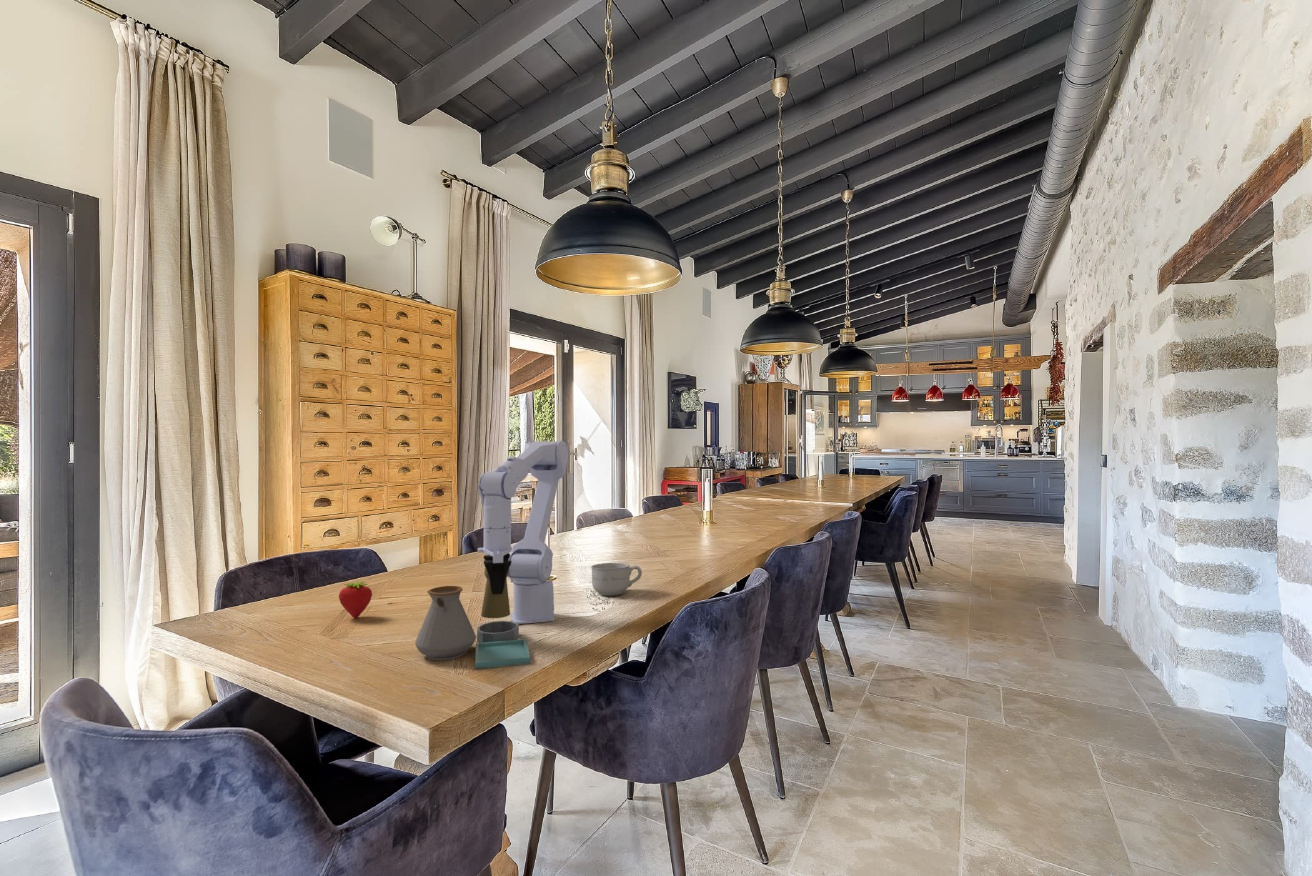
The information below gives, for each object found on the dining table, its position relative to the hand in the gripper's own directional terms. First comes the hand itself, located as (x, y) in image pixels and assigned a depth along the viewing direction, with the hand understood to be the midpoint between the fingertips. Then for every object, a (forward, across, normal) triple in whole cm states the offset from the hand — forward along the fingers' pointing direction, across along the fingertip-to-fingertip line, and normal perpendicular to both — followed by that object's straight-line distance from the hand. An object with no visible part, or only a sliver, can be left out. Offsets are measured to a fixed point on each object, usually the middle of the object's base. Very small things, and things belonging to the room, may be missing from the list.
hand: (497, 590), depth 129 cm
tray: (+10, +10, +1) cm, 15 cm away
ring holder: (+10, 0, 0) cm, 10 cm away
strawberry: (+10, -26, -32) cm, 43 cm away
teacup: (+10, -30, +33) cm, 45 cm away
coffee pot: (+11, +11, -10) cm, 18 cm away
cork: (+5, 0, 0) cm, 5 cm away
